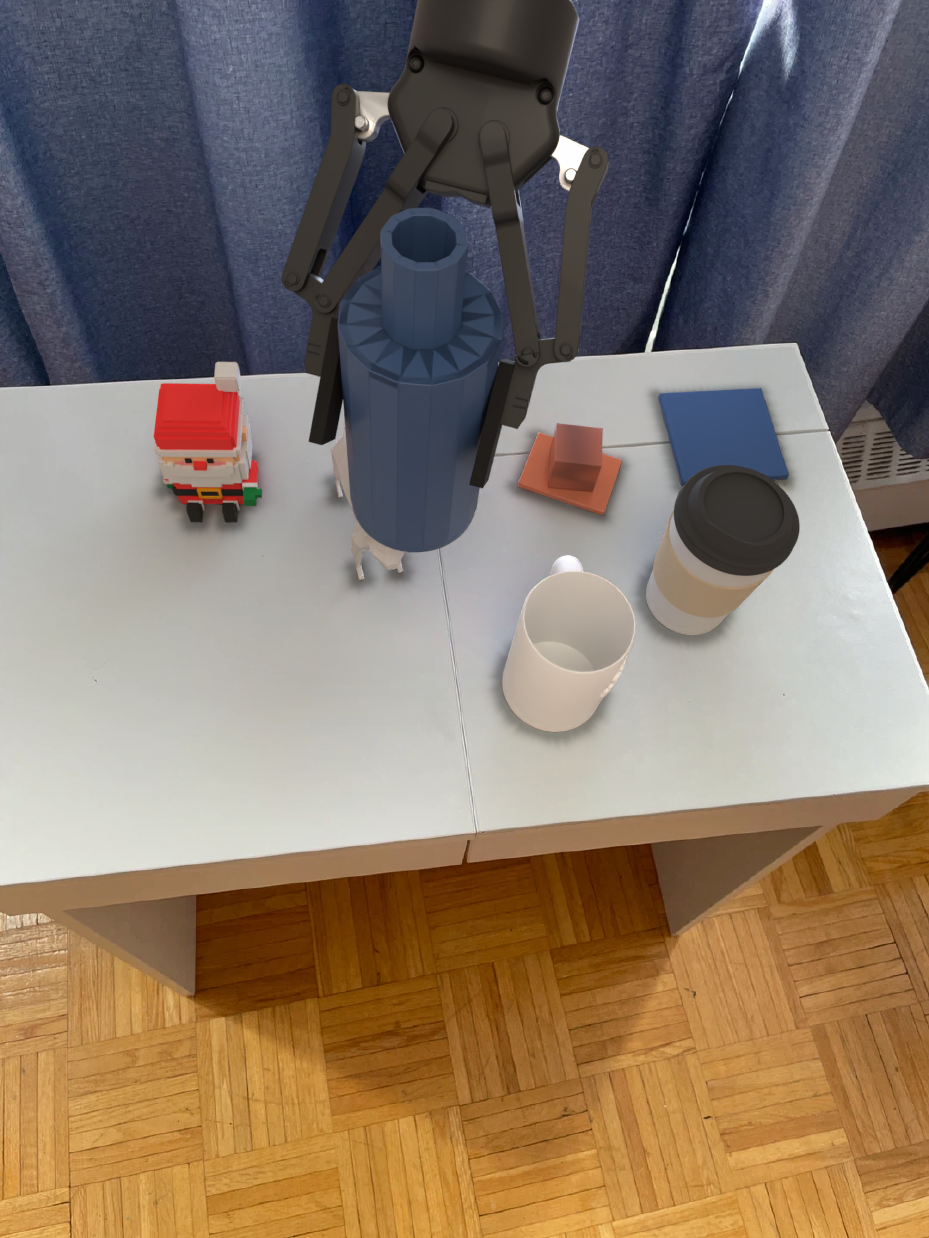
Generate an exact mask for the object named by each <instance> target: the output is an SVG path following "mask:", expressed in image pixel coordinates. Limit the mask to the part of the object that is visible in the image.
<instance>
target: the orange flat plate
mask: <svg viewBox="0 0 929 1238" xmlns="http://www.w3.org/2000/svg"><path fill="white" fill-rule="evenodd" d="M552 439H553V436H551V435H549V434H545V433H542V432H539V431H538V432H537V434H536V437H535V439H534V441H533V443H532V446H531V449H530V452H529V454H528V457H527V459H526V462H525V464H524V467H523V469H522V471H521V474H520V477H519V480H518V482H517V487H518V488H520V489H523V490H526V491H530V492H532V493H535V494H538V495H541V496H544V497H546V498H550V499H553V500H556V501H559V502H561V503H564V504H568V505H570V506H573V507H576V508H580V509H582V510H585V511H589V512H591V513H593V514H597V515H600V516H605V512H606V509H607V506H608V503H609V501H610V499H611V495H612V492H613V489H614V486H615V483H616V480H617V477H618V474H619V471H620V468H621V465H622V463H623V459H621V458H618V457H615V456H611V455H609V454H606V453H603V452H602V467H601V470H600V473H599V476H598V478H597V481H596V484H595V487H594V490H593V492H586V491H577V490H568V489H559V488H550V487H548V472H549V452H550V447H551V443H552Z"/></svg>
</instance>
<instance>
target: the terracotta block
mask: <svg viewBox="0 0 929 1238" xmlns="http://www.w3.org/2000/svg"><path fill="white" fill-rule="evenodd" d="M603 433H604V432H603V427H595V426H586V425H578V424H570V423H569V424H568V423H560V422H558V423H556V425H555V427H554V432H553V436H552V437H553V439H552V443H551V447H550V452H549V472H548V487H550V488H559V489H568V490H577V491H586V492H593V490H594V487H595V484H596V481H597V478H598V476H599V473H600V470H601V467H602V453H603Z"/></svg>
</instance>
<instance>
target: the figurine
mask: <svg viewBox="0 0 929 1238" xmlns="http://www.w3.org/2000/svg"><path fill="white" fill-rule="evenodd" d="M213 375H214V376H213V379H214V383H182V382H181V383H180V382H179V383H177V382H176V383H172V382H166V383H165V382H162V383H160V385H159V386H160V387H159V389H158V396H157V405H156V412H155V421H154V428H153V439H154V444H153V451H154V454H155V455H157V457H158V459H157V464H158V468H159V471H160V473H161V475H162V477H163V480H162V483H163V484H164V485H166V487H167V489H172V490H171V491H172V492H173V495H175V496H176V497H177V499H178V501H179V502H180V503H181V504H182V505H185V511H186V513H187V517H188V519H189V523H203V517H204V512H205V511H206V507H205V505H221V512H222V515H223V519H224V522H225V523H238V514H239V513H238V512H240V508H241V507H240V505H243V506H244V507H257V504H258V503H257V502H258V501H257V500H258V499H263V488H259V464H258V463H259V462H258V461H256V460H255V459H252V458H253V440H252V429H251V424H250V419H249V415H248V414H244V409H245V401H244V398H242V397H241V395H239V392H240V388H241V371H240V367H239V363H237V361H217V362H215V365H214V374H213Z"/></svg>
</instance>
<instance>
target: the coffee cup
mask: <svg viewBox="0 0 929 1238" xmlns="http://www.w3.org/2000/svg"><path fill="white" fill-rule="evenodd" d="M800 525H801V524H800V518H799V514H798V511H797V508H796V506H795V504H794V502H793V500H792V499H791V497H790V496H789V495H788V493H787V492H786V490H784V489H783V488H782V486H780V485H779V484H778V483H777V482H776V481H775V480H772V479H771V478H769V477H768V476H766V475H764V474H762V473H760V472H758V471H755V470H752V469H749V468H745V467H741V466H735V465H717V466H712V467H708V468H705V469H703V470H701V471H699V472H697V473H695V474H694V475H693V476H692V477H690V478H689V479H688V481H687V482H686V483H685V485H682V488H680V490H679V492H678V493H677V496H676V499H675V501H674V505H673V510H672V512H671V513H670V516H669V518H668V521H667V524H666V527H665V529H664V532H663V535H662V537H661V541H660V543H659V545H658V549H657V551H656V554H655V557H654V560H653V567H652V571H651V573H650V576H649V579H648V581H647V584H646V589H645V600H646V603H647V606H648V609H649V612H651V614H652V615H653V617H654V618H655V619H656V620H657V621H658V622H659V623H660V624H661V625H662V626H663V627H665V628H667V629H669V630H670V631H672V632H675V633H678V634H682V635H687V636H699V635H703V634H706V633H708V632H711V631H713V630H714V629H716V628H717V626H719V624H721V623H722V621H723V620H725V618H727V616H728V615H729V614H730V613H732V612H734V611H735V610H736V609H738V607H740V606H741V605H742V604H743V603H744V601H746V600H747V599H748V598H749V597H750V595H751V594H752V593H753V592H755V591H756V590H757V589H758V588H759V586H760V585H762V583H764V581H766V580H767V579H768V577H769V576H770V575H771V574H772V573H773V572H774V570H775V569H776V568H778V567H780V566H781V565H782V564H784V563H785V562H786V561H787V559H788V558H789V557H790V556H791V554H792V552H793V550H794V548H795V546H796V544H797V542H798V539H799V536H800V528H801V526H800Z"/></svg>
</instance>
